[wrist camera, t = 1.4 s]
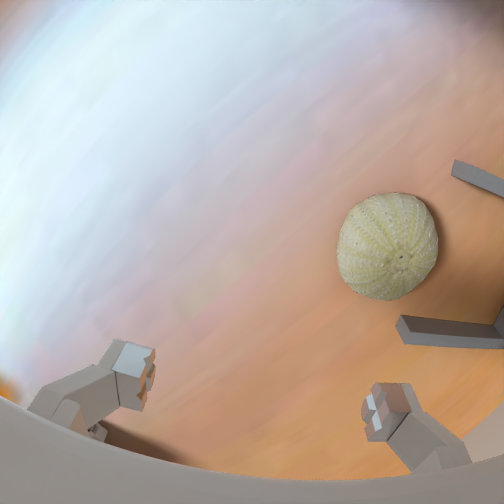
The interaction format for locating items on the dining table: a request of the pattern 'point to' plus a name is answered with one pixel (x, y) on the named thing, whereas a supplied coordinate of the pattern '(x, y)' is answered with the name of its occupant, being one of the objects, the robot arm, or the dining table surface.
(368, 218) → the sea urchin shell
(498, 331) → the bay
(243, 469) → the dining table surface
